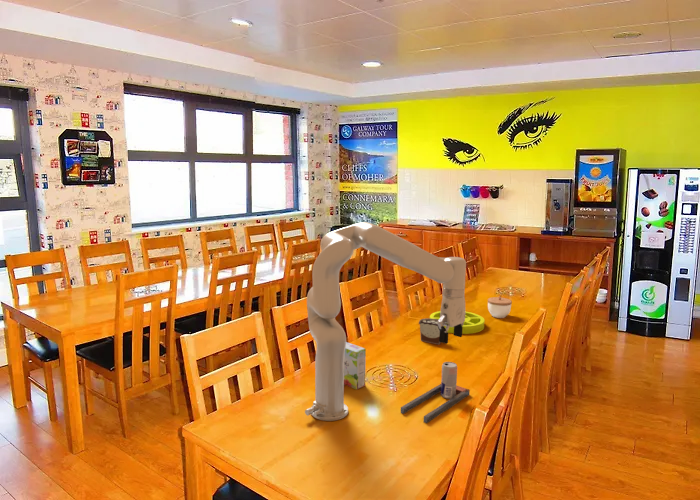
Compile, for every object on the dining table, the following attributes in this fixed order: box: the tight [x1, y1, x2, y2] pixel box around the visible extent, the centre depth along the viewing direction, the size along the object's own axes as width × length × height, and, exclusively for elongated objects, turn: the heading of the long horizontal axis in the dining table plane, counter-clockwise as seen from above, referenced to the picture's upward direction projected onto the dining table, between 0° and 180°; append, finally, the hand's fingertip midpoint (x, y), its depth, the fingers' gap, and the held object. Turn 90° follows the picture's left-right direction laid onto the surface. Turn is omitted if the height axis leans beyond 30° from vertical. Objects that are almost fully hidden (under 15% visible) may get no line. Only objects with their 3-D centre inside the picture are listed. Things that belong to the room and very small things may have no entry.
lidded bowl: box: [487, 296, 513, 319], centre depth 283 cm, size 13×13×11 cm
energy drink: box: [440, 361, 458, 400], centre depth 185 cm, size 5×5×12 cm
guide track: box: [400, 383, 471, 424], centre depth 180 cm, size 28×10×2 cm, turn 138°
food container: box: [418, 317, 441, 346], centre depth 243 cm, size 12×6×10 cm, turn 58°
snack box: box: [344, 341, 366, 390], centre depth 198 cm, size 21×6×15 cm, turn 47°
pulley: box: [429, 310, 485, 335], centre depth 267 cm, size 28×28×5 cm
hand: (450, 339), depth 183 cm, fingers open, 9 cm apart
